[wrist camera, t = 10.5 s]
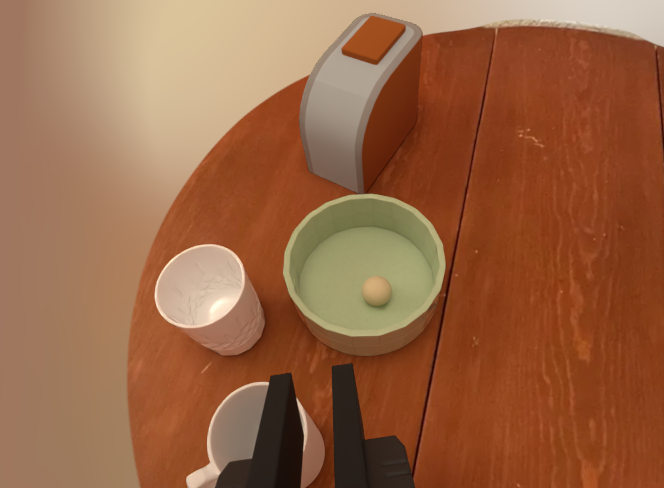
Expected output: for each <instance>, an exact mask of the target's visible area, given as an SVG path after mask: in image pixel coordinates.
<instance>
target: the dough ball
mask: <svg viewBox="0 0 664 488" xmlns="http://www.w3.org/2000/svg"><path fill="white" fill-rule="evenodd" d="M362 295H363V298H364V299H365V301H366V302H367V303H369V304H371V305H373V306H381V305H383V304H385V303H387V302H388V301H389V299H390V297H391V295H392V288H391V285H390V283H389V281H388V280H387V279H385V278H384V277H381V276H372V277H370V278H368V279H367V280H366V281H365V282H364V284H363V286H362Z"/></svg>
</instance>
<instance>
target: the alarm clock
mask: <svg viewBox="0 0 664 488" xmlns="http://www.w3.org/2000/svg"><path fill="white" fill-rule="evenodd" d="M422 36H423V34H422V30H421V28H420V27H419V26H417V25H416V24H413V23H410V22H407V21H403V20H399V19H395V18H392V17H388V16H385V15H380V14H376V13H370V14H364V15H361V16H359V17H358V18H356V19H355V20H354V21H353V22H352V23H351V25H350V26H349V27H348V28H347V29H346V30H345V31H344V32H343V33H342V34H341V35H340V37H338V38H337V40H336V41H335V42H334V43H333V44H332V45H331V46H330V47H329V48H328V49H327V50H326V52H325V53H324V54H323V55H322V56H321V58H320V59H319V60H318V62H317V63H316V65H315V67H314V69H313V71H312V72H311V74H310V76H309V78H308V81H307V84H306V87H305V89H304V92H303V97H302V101H301V106H300V118H299V125H300V134H301V139H302V143H303V147H304V152H305V156H306V160H307V165H308V169H309V172H311V173H313V174H316V175H318V176H320V177H322V178H325V179H327V180H329V181H331V182H334V183H336V184H338V185H340V186H343V187H345V188H347V189H349V190H352V191H354V192H356V193H359V194H366V192H367V191H368V189H369V188H370V187H371V185H372V184H373V182H374V181H375V180H376V178H377V177H378V175H379V174H380V173H381V171H382V170H383V168H384V167H385V166H386V164H387V163H388V162H389V160H390V159H391V157H392V156H393V155H394V153H395V152H396V150H397V149H398V148H399V146H400V145H401V143H402V142H403V141H404V139H405V138H406V136H407V135H408V134H409V132H410V131H411V129H412V128H413V127H414V125H415V123H416V116H417V103H418V89H419V76H420V63H421V49H422Z"/></svg>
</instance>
